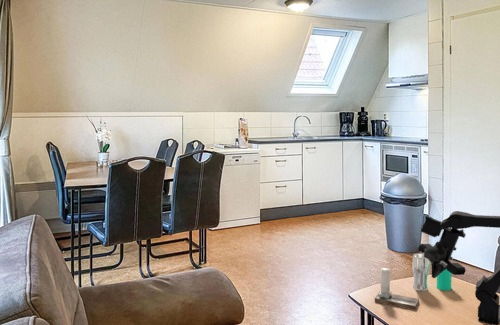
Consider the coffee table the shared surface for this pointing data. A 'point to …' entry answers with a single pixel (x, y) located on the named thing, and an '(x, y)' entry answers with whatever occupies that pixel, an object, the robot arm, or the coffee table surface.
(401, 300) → the board
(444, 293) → the coffee table surface
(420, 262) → the beer glass
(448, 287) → the candle
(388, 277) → the tuning slider
